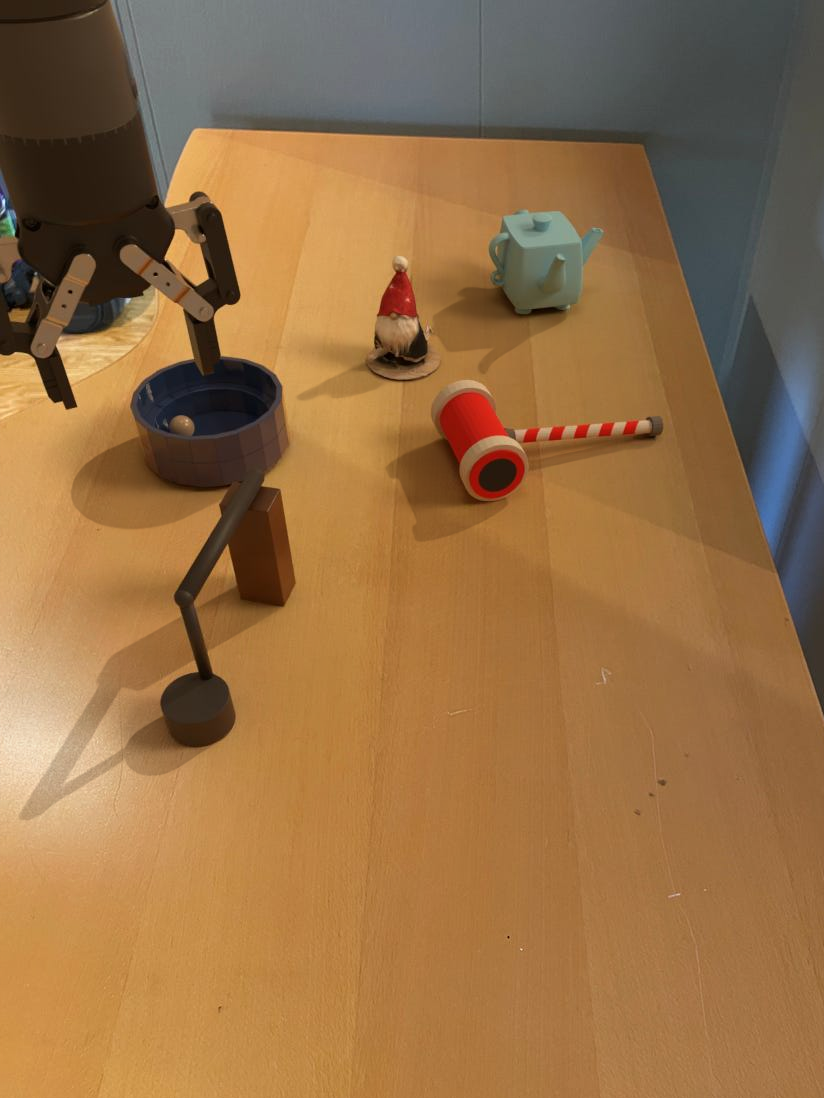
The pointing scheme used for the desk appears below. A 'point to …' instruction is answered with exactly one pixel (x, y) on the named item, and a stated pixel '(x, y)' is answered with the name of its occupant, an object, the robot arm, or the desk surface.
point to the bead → (181, 426)
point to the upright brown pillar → (262, 548)
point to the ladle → (202, 697)
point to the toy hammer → (504, 438)
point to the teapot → (541, 260)
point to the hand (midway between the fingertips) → (138, 385)
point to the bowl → (211, 421)
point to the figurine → (401, 332)
